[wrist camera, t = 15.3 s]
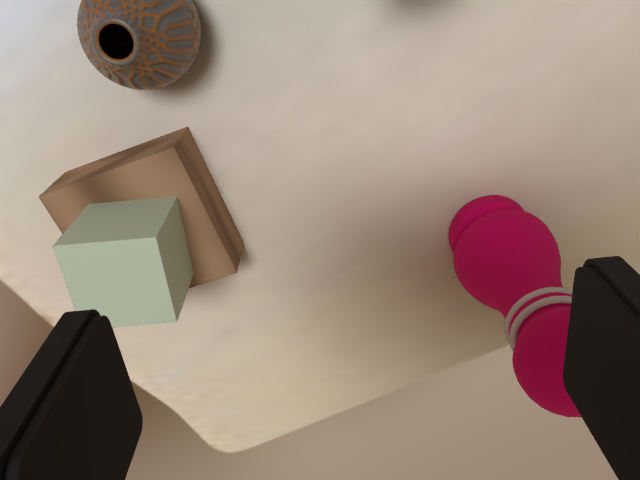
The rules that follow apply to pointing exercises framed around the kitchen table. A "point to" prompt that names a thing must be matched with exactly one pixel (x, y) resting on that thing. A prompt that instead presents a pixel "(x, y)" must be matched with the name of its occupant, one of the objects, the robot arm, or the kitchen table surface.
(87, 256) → the green cube
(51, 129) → the kitchen table surface
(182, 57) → the vase
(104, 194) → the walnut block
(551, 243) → the pepper mill
